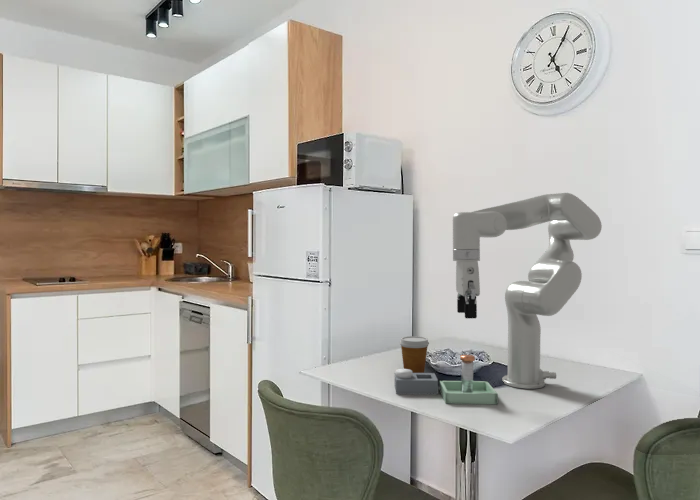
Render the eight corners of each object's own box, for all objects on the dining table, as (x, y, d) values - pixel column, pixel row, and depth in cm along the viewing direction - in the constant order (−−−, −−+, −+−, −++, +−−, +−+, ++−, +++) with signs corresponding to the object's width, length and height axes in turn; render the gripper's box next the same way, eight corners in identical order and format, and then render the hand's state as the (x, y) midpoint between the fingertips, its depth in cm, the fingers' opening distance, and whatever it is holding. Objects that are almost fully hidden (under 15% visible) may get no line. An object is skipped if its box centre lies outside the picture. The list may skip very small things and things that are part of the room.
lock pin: (472, 392, 147) (473, 354, 147) (475, 397, 143) (476, 357, 143) (458, 392, 147) (459, 354, 147) (461, 396, 143) (461, 357, 143)
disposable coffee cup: (428, 380, 162) (428, 342, 162) (397, 378, 164) (398, 341, 164) (429, 372, 171) (429, 336, 171) (401, 370, 173) (401, 335, 173)
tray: (487, 390, 151) (487, 381, 151) (497, 404, 139) (497, 393, 139) (439, 390, 151) (439, 380, 151) (445, 403, 139) (445, 393, 139)
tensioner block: (434, 386, 155) (434, 367, 155) (437, 394, 147) (438, 375, 147) (394, 385, 156) (394, 367, 156) (396, 393, 148) (396, 374, 148)
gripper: (487, 257, 138) (487, 320, 138) (472, 254, 155) (472, 310, 155) (459, 257, 138) (460, 320, 138) (447, 254, 155) (447, 310, 155)
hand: (466, 315), depth 147 cm, fingers open, 9 cm apart
